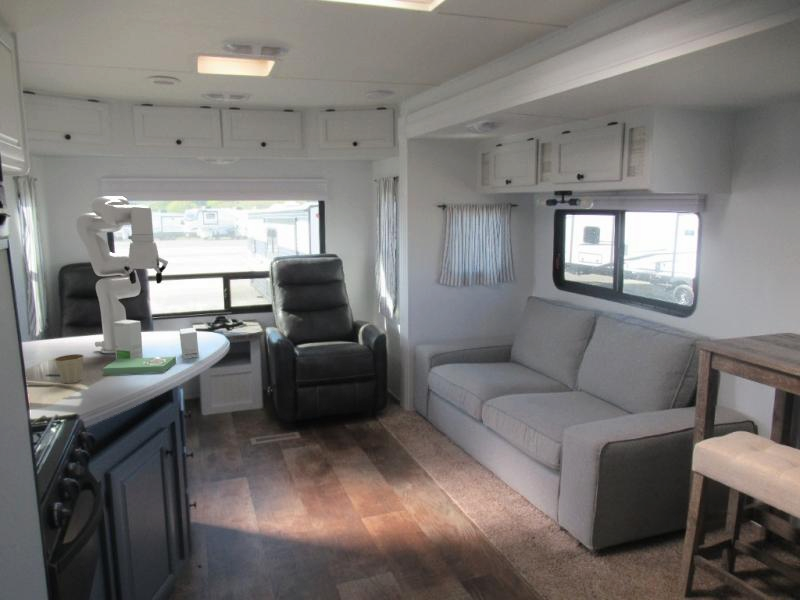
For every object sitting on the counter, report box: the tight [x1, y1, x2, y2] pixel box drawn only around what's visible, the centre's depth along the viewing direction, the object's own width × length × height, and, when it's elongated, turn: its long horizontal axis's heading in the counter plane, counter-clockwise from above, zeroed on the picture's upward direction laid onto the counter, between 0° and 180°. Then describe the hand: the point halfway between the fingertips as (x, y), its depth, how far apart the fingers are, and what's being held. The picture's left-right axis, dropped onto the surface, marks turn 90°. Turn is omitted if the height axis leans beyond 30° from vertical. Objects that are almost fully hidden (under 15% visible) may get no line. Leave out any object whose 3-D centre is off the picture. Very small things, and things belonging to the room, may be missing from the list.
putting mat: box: [102, 356, 177, 376], centre depth 232 cm, size 22×14×2 cm, turn 93°
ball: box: [152, 356, 163, 364], centre depth 233 cm, size 4×4×4 cm
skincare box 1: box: [114, 319, 144, 361], centre depth 247 cm, size 8×7×16 cm
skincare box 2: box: [179, 327, 200, 359], centre depth 251 cm, size 10×6×10 cm, turn 22°
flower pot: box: [53, 353, 85, 384], centre depth 217 cm, size 9×9×9 cm
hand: (146, 283), depth 237 cm, fingers open, 9 cm apart
